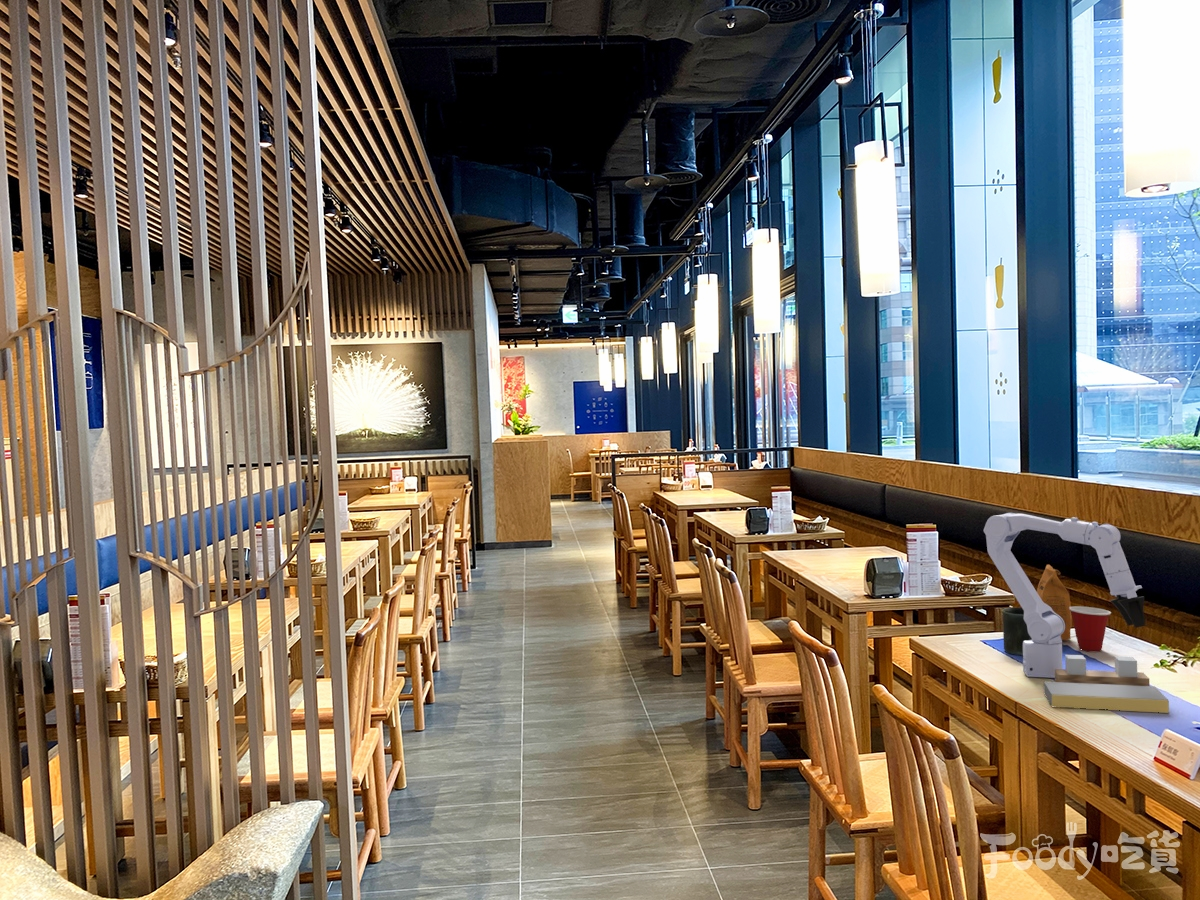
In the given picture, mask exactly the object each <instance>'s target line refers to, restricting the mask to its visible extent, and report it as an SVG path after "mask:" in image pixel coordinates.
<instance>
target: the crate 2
mask: <svg viewBox="0 0 1200 900" xmlns="http://www.w3.org/2000/svg"><path fill="white" fill-rule="evenodd" d="M1114 671H1115V673H1116V674H1117V675H1118V676H1119V677H1137V672H1138V661H1137V659H1136V658H1134V657H1133V656H1120V655H1119V656H1114Z"/></svg>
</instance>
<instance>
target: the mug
mask: <svg viewBox="0 0 1200 900" xmlns="http://www.w3.org/2000/svg"><path fill="white" fill-rule="evenodd" d="M1000 611H1001V612H1000V613H1002V625H1003V626H1002V631H1003V635H1002V637H1003V649H1004V651H1005V652H1006V653H1008V654H1010V655H1011V654H1012V655H1016V656H1017V655H1018V656H1023V641H1027V640H1032V638H1031V637H1030V635H1029V633H1028V630H1027V624H1026V622H1025V621H1024V610H1023V608H1022V607H1021V606H1020V607H1018V606H1017V607H1016V606H1015V607H1005V608H1002V609H1001V610H1000Z"/></svg>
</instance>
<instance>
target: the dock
mask: <svg viewBox="0 0 1200 900" xmlns="http://www.w3.org/2000/svg"><path fill="white" fill-rule="evenodd" d="M1043 689H1044V691H1043V693H1045V694H1044V695H1046V696H1047V697H1046V696H1045V697H1046V699H1047V698H1048V699H1047V700H1049V701H1048V703H1049V702H1050V703H1051V704H1050V703H1049V704H1050V706H1051V705H1052V706H1056V707H1055V708H1060V707H1074V708H1073V709H1080V708H1086V709H1085V710H1099V709H1105V710H1106V709H1108V710H1107V711H1119V710H1120V711H1121V712H1123V711H1124V712H1141V713H1142V712H1144V713H1158V712H1159V713H1162V714H1170V703H1169V702H1170V701H1169V699H1168V698H1167V697H1166V696H1165V695H1164V694H1163V693H1162V692H1161V691H1160V690H1159V689H1158V688H1157V687H1156V686H1155V685H1154V686H1153V685H1150V686H1133V685H1110V684H1087V683H1064V682H1055V681H1044V682H1043ZM1052 706H1051V707H1052ZM1105 710H1104V711H1105Z"/></svg>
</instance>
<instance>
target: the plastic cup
mask: <svg viewBox="0 0 1200 900" xmlns="http://www.w3.org/2000/svg"><path fill="white" fill-rule="evenodd" d="M1069 610H1070V612H1071V619H1072V621H1073V622H1072V624H1073V627H1074V632H1075V637H1076V640H1077V647H1078V649H1079V648H1080V649H1082V650H1081V651H1083V650H1086V651H1085V652H1089V651H1099V652H1101V651H1102V649H1103V643H1104V640H1105V639H1104V638H1105V634H1106V627H1107V624H1108V623H1107V622H1108V619H1109V618H1110V617H1109V616H1110V615H1111V614H1112V612H1111V611H1109V610H1106V609H1104V608H1098V607H1091V606H1090V607H1089V606H1081V605H1080V606H1070V608H1069ZM1080 649H1079V650H1080ZM1100 650H1101V651H1100Z"/></svg>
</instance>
